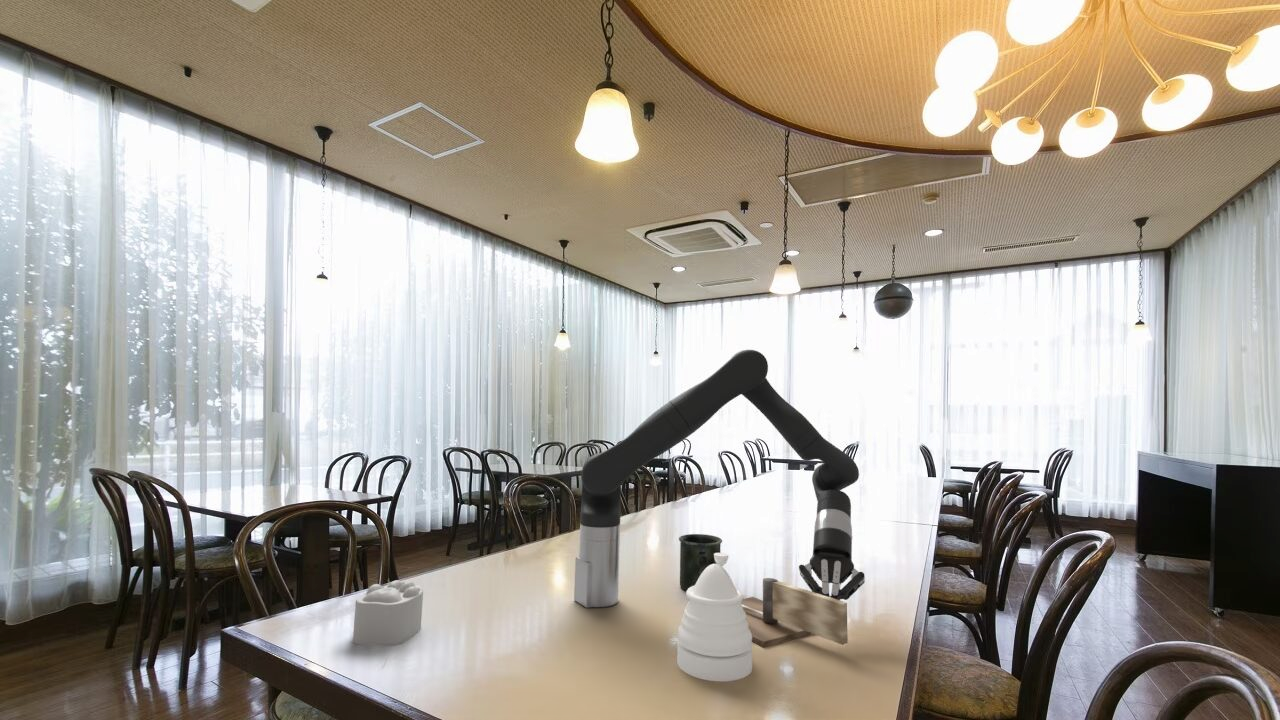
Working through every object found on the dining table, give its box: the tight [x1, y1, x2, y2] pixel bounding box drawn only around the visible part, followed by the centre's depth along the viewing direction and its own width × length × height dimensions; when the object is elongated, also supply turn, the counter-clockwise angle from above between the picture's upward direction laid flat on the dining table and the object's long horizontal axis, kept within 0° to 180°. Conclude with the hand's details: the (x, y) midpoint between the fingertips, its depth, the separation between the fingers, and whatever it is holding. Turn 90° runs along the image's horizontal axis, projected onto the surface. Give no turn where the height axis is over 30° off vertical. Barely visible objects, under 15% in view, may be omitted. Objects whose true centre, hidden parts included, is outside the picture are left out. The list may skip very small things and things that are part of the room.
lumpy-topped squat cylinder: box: [352, 579, 424, 647], centre depth 107 cm, size 10×13×9 cm
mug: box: [678, 533, 723, 592], centre depth 137 cm, size 11×15×12 cm
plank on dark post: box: [742, 577, 849, 646], centre depth 111 cm, size 28×3×8 cm, turn 37°
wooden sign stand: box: [741, 596, 813, 648], centre depth 116 cm, size 17×20×1 cm
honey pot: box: [676, 552, 753, 682], centre depth 96 cm, size 13×13×18 cm
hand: (829, 616), depth 104 cm, fingers closed
